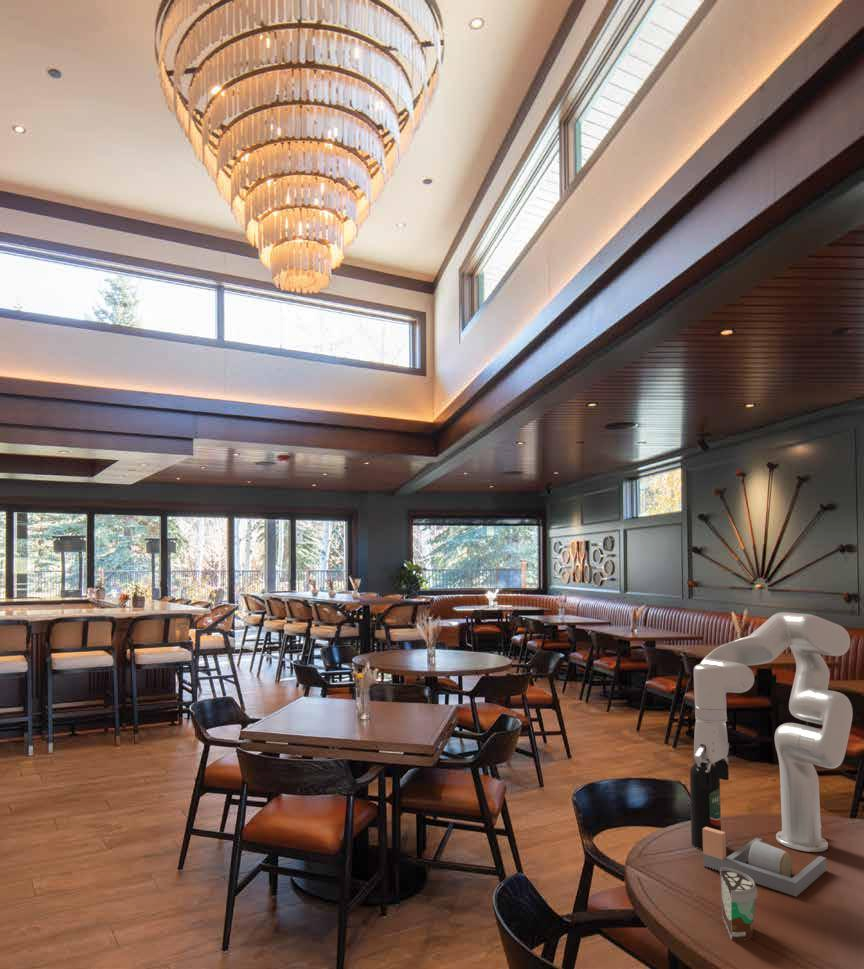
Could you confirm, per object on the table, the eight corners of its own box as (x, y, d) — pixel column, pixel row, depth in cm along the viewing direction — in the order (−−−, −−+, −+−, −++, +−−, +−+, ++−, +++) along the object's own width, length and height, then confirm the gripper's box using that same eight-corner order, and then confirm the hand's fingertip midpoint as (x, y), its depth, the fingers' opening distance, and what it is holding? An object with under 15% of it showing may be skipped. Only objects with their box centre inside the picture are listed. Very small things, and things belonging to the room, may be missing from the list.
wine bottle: (696, 837, 197) (693, 726, 200) (724, 844, 192) (721, 730, 195) (688, 846, 191) (685, 731, 194) (717, 853, 186) (714, 736, 189)
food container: (766, 947, 141) (764, 894, 142) (733, 944, 143) (731, 891, 144) (751, 917, 153) (749, 868, 154) (721, 914, 155) (719, 865, 156)
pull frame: (737, 843, 192) (736, 809, 193) (826, 870, 177) (824, 832, 177) (703, 866, 178) (702, 828, 179) (796, 896, 162) (794, 855, 163)
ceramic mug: (783, 888, 167) (782, 854, 168) (747, 877, 173) (747, 844, 174) (799, 875, 174) (798, 843, 175) (764, 865, 180) (764, 833, 181)
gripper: (711, 706, 190) (714, 772, 188) (680, 717, 178) (683, 788, 176) (739, 710, 184) (742, 778, 183) (709, 722, 172) (713, 795, 171)
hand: (713, 783), depth 179 cm, fingers open, 9 cm apart
